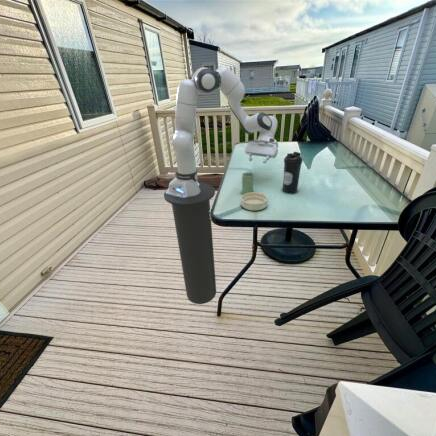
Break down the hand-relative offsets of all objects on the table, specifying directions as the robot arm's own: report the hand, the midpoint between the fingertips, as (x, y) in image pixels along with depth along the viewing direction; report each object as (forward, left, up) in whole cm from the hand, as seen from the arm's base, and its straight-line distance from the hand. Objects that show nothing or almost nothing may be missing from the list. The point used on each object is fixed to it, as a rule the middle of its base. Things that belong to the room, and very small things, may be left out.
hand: (257, 161), depth 148 cm
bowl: (+4, -26, -16) cm, 31 cm away
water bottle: (+21, -2, -16) cm, 27 cm away
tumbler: (-3, -12, -16) cm, 20 cm away
